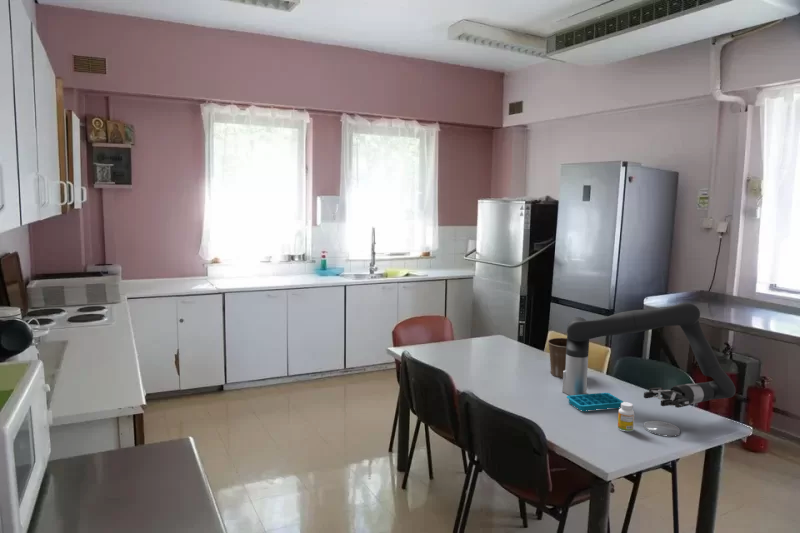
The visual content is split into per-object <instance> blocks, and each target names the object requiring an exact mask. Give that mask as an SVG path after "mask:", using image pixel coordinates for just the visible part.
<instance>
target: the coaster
mask: <svg viewBox="0 0 800 533" xmlns="http://www.w3.org/2000/svg"><path fill="white" fill-rule="evenodd" d="M643 427H645V428H646V429H647V430H649V431H651V432H653V433H656V434H660V435H667V436H673V437H676V436H675V435H678V436H679V435H680V434H681V430H680V428H679V427H678V426H676V424H672V423H669V422H665V421H660V420H649V421H646V422H644V424H643ZM645 428H644V429H645ZM646 429H645V430H646ZM647 430H646V431H647ZM649 431H648V432H649ZM651 432H650V433H651ZM653 433H652V434H653ZM656 434H655V435H656ZM660 435H659V436H660ZM667 436H666V437H667Z"/></svg>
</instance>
